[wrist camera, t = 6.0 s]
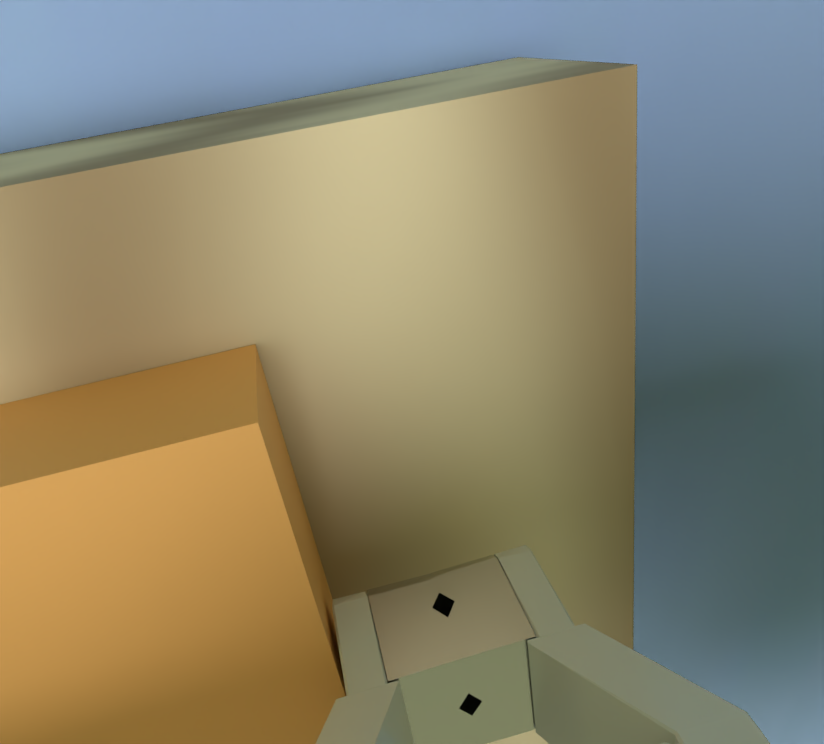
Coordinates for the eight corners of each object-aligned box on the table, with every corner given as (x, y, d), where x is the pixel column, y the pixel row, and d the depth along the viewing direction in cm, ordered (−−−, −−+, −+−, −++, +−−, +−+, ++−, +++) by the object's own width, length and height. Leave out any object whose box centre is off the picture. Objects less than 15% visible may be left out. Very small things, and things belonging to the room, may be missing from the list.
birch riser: (518, 57, 12) (637, 64, 8) (557, 619, 18) (632, 757, 15) (-233, 197, 10) (-487, 281, 7) (106, 755, 17) (70, 945, 13)
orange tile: (255, 343, 9) (257, 423, 7) (381, 761, 13) (402, 874, 11) (-253, 464, 8) (-397, 586, 6) (59, 864, 12) (27, 1003, 10)
